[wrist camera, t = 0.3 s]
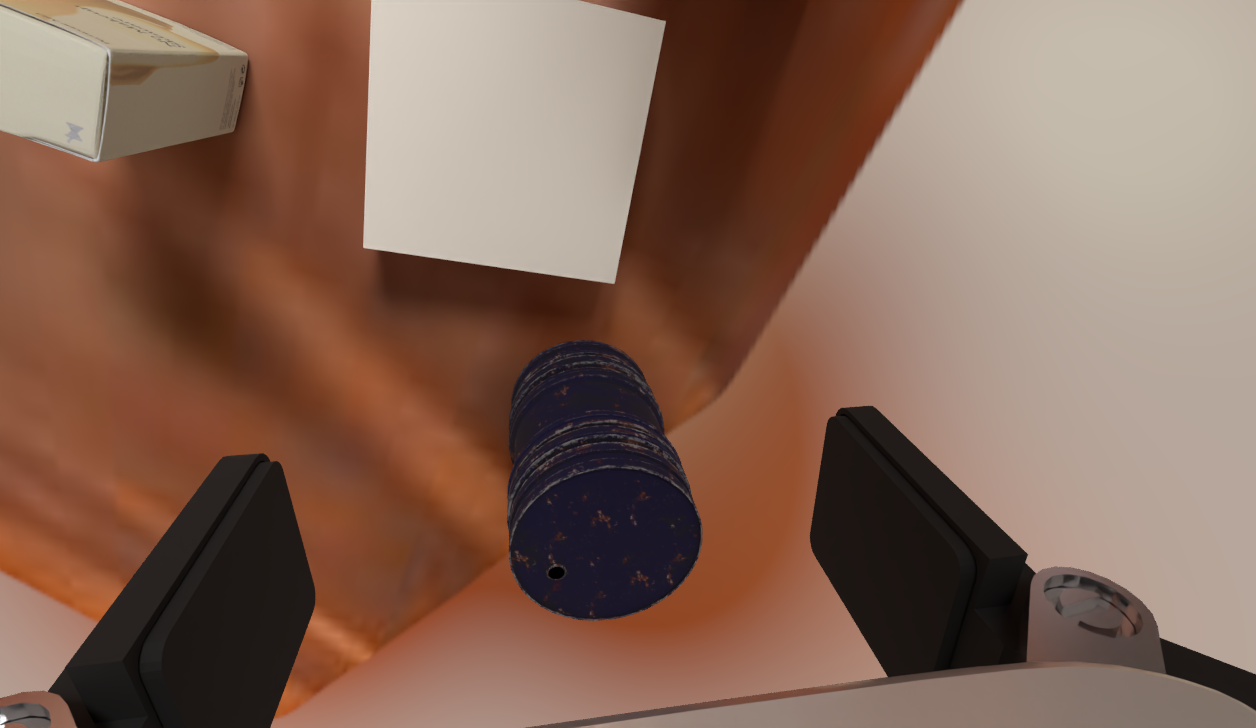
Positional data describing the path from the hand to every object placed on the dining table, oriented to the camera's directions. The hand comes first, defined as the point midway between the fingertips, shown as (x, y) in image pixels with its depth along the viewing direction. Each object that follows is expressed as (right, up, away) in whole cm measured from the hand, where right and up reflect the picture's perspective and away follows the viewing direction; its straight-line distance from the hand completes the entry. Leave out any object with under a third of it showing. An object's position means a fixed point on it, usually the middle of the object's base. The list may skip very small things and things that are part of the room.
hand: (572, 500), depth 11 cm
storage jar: (-2, 0, +34) cm, 34 cm away
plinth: (-6, +16, +26) cm, 31 cm away
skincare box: (-22, +18, +22) cm, 36 cm away
